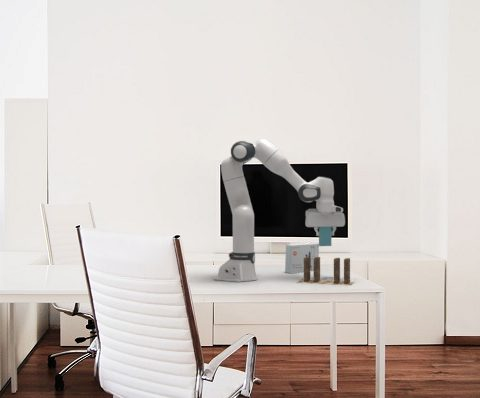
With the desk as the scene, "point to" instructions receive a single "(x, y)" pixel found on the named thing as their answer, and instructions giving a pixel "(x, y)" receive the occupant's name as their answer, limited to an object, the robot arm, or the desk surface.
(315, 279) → the tile
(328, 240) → the tile
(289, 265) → the skincare box
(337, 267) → the tile
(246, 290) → the desk surface
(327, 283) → the oak board
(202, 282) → the desk surface
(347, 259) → the tile
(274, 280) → the desk surface
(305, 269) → the dark wood plank
